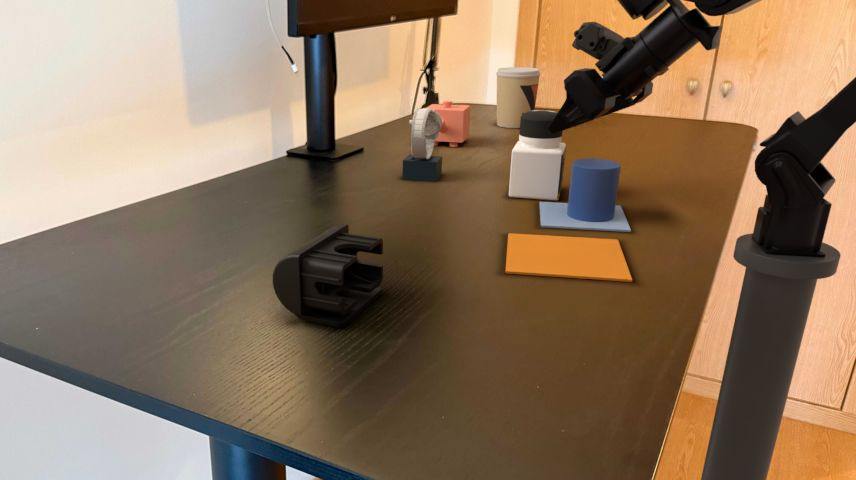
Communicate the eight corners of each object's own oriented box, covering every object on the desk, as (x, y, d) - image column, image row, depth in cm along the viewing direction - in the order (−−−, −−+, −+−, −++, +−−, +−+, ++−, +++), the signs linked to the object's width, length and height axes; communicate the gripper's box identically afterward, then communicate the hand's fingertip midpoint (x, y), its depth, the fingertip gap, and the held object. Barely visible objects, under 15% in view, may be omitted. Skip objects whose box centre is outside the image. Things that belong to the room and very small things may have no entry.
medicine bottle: (558, 201, 102) (566, 117, 98) (508, 197, 104) (514, 114, 100) (561, 189, 108) (569, 109, 104) (514, 185, 111) (520, 107, 106)
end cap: (323, 280, 75) (321, 220, 73) (384, 291, 73) (385, 228, 70) (273, 317, 67) (269, 250, 65) (340, 331, 64) (338, 262, 62)
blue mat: (620, 207, 99) (620, 205, 99) (630, 232, 89) (631, 230, 89) (539, 203, 101) (539, 201, 101) (540, 227, 91) (540, 225, 91)
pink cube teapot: (418, 149, 136) (419, 105, 133) (433, 137, 147) (434, 96, 144) (458, 151, 134) (460, 106, 131) (470, 139, 144) (472, 97, 141)
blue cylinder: (611, 210, 97) (618, 159, 94) (616, 223, 92) (623, 169, 89) (565, 207, 98) (571, 157, 96) (568, 220, 93) (573, 168, 90)
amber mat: (617, 241, 86) (618, 239, 86) (632, 282, 74) (632, 279, 74) (508, 235, 89) (508, 233, 88) (505, 273, 77) (505, 270, 77)
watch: (443, 172, 119) (446, 105, 115) (433, 184, 112) (435, 113, 108) (411, 170, 121) (412, 104, 116) (399, 181, 114) (400, 112, 109)
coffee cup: (526, 130, 153) (531, 72, 148) (486, 126, 157) (489, 70, 153) (541, 123, 160) (546, 68, 155) (502, 120, 164) (506, 66, 160)
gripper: (642, -2, 97) (558, 75, 108) (588, 0, 84) (498, 89, 95) (692, 61, 96) (602, 133, 107) (645, 74, 83) (548, 155, 93)
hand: (564, 126), depth 100 cm, fingers open, 9 cm apart
